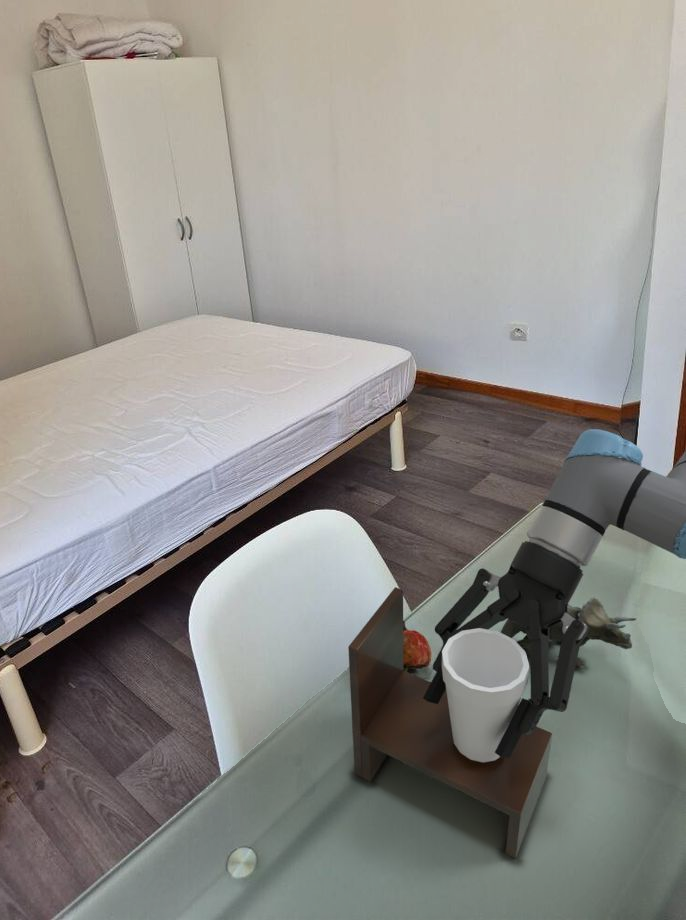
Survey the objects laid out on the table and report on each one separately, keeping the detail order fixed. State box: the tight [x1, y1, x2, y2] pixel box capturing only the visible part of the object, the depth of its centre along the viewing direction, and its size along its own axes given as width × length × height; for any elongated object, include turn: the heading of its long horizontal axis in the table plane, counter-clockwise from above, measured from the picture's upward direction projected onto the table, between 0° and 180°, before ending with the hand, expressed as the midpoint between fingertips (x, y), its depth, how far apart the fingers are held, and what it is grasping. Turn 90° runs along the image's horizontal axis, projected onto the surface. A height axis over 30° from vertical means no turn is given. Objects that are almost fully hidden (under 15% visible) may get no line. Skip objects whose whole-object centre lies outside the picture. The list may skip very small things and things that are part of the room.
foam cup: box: [442, 628, 530, 762], centre depth 79 cm, size 10×9×13 cm
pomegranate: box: [403, 620, 432, 672], centre depth 103 cm, size 7×7×10 cm
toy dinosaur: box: [500, 596, 637, 669], centre depth 103 cm, size 22×8×11 cm, turn 73°
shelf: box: [348, 586, 553, 860], centre depth 83 cm, size 21×12×22 cm, turn 57°
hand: (464, 726), depth 79 cm, fingers closed on foam cup, 9 cm apart
